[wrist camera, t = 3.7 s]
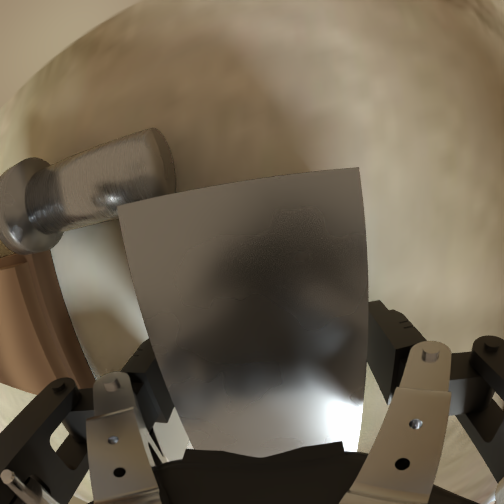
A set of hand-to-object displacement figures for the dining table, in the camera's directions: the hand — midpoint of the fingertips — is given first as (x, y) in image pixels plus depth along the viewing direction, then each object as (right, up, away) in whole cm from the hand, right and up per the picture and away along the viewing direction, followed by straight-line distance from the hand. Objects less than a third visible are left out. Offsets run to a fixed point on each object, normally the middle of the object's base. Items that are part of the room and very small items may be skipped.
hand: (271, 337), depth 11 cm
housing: (0, +1, +1) cm, 2 cm away
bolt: (-7, +6, 0) cm, 9 cm away
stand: (-18, -2, +3) cm, 18 cm away
